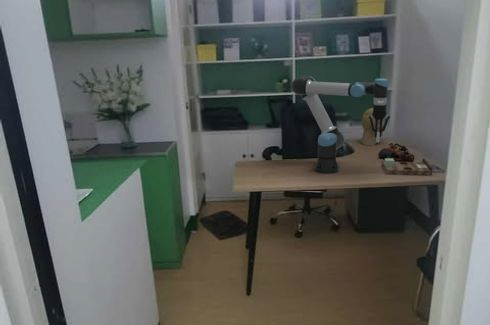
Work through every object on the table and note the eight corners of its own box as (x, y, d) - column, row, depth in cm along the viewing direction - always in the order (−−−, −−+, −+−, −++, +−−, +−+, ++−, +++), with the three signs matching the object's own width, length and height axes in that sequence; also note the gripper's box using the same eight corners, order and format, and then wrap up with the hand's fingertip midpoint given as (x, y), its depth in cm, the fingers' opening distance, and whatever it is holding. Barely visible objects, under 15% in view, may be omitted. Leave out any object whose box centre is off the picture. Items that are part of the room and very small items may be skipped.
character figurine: (388, 137, 260) (420, 146, 235) (392, 149, 265) (423, 159, 240) (371, 150, 257) (400, 161, 232) (375, 162, 262) (404, 174, 237)
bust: (384, 146, 290) (387, 109, 282) (361, 146, 294) (363, 109, 286) (381, 141, 307) (384, 106, 299) (360, 141, 311) (361, 106, 303)
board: (386, 174, 223) (386, 165, 221) (381, 165, 240) (382, 157, 239) (431, 175, 217) (432, 166, 216) (423, 166, 235) (424, 158, 234)
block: (385, 166, 228) (386, 160, 227) (384, 164, 233) (384, 158, 232) (393, 166, 227) (394, 160, 226) (392, 164, 232) (392, 158, 231)
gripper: (369, 105, 219) (367, 143, 225) (392, 105, 216) (389, 143, 223) (367, 103, 226) (365, 140, 232) (390, 103, 223) (387, 140, 230)
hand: (377, 142), depth 228 cm, fingers closed
